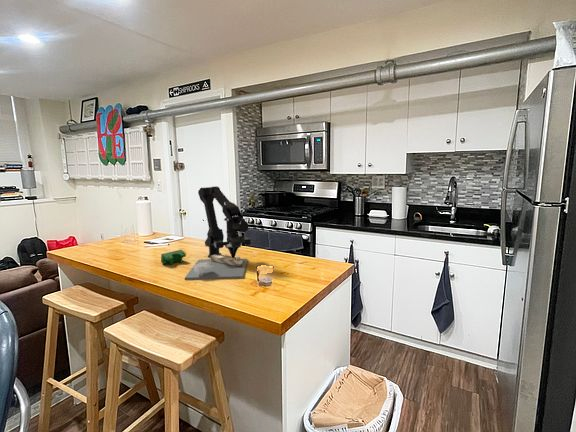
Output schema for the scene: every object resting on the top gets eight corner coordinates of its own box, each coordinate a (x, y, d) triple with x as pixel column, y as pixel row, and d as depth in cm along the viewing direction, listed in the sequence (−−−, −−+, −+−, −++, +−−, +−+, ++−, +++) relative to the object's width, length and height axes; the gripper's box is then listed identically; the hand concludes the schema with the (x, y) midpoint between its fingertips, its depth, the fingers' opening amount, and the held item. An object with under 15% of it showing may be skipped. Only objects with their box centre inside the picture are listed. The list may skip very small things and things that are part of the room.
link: (244, 264, 158) (244, 256, 157) (239, 266, 154) (238, 258, 154) (215, 258, 168) (214, 251, 168) (209, 260, 165) (209, 253, 164)
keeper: (208, 271, 151) (208, 261, 150) (214, 275, 146) (214, 264, 145) (193, 275, 147) (192, 264, 146) (199, 279, 141) (198, 268, 140)
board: (198, 261, 168) (198, 259, 168) (247, 260, 170) (247, 258, 170) (184, 279, 141) (184, 277, 141) (243, 278, 142) (242, 276, 142)
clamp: (169, 273, 163) (164, 260, 158) (164, 268, 166) (158, 255, 161) (189, 260, 170) (184, 247, 164) (183, 255, 173) (178, 243, 168)
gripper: (218, 234, 153) (219, 265, 155) (254, 230, 161) (255, 260, 163) (213, 230, 163) (214, 259, 165) (247, 227, 171) (248, 254, 173)
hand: (233, 258), depth 166 cm, fingers closed
